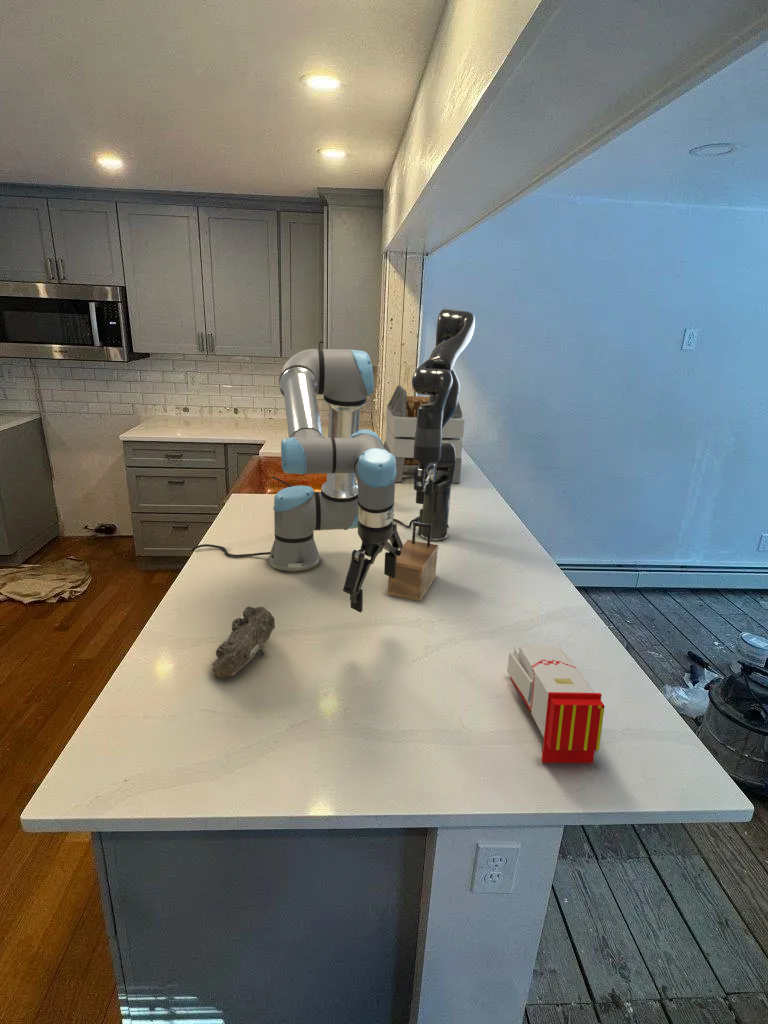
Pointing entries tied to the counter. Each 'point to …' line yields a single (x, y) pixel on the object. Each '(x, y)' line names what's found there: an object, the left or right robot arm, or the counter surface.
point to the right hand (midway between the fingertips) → (424, 499)
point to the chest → (412, 581)
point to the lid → (416, 550)
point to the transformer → (404, 426)
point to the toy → (558, 703)
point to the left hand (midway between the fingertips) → (373, 591)
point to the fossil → (243, 641)
